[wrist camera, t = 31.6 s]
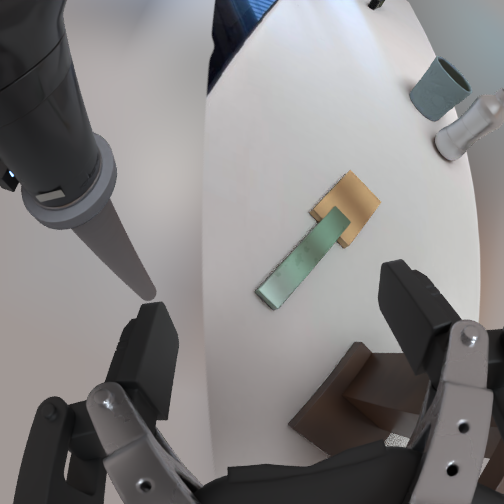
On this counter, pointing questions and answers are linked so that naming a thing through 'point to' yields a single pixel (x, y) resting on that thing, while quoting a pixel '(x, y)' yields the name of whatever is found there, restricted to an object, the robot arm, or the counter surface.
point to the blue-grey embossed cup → (439, 89)
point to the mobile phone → (376, 3)
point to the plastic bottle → (471, 125)
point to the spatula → (322, 236)
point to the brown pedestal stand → (377, 408)
